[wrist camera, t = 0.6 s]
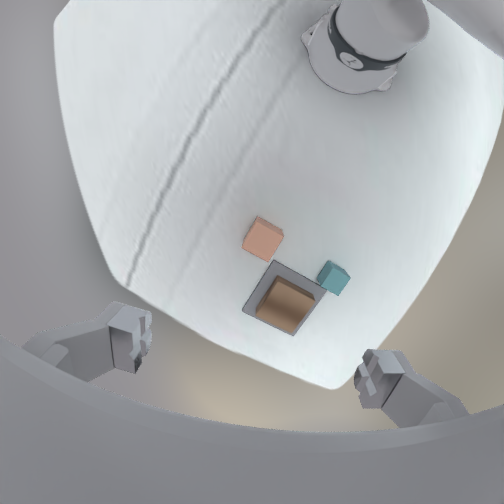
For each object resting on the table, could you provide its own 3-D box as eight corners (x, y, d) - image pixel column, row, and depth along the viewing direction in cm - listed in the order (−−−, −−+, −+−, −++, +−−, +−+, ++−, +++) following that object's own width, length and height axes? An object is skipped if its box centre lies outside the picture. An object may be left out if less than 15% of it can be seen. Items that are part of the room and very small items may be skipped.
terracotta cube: (257, 216, 48) (256, 221, 43) (281, 229, 49) (283, 236, 44) (243, 239, 50) (241, 247, 45) (267, 253, 50) (268, 262, 45)
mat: (273, 259, 50) (273, 260, 50) (326, 289, 52) (327, 290, 51) (242, 309, 54) (241, 311, 53) (293, 334, 55) (293, 336, 54)
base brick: (277, 274, 50) (278, 281, 48) (313, 294, 51) (315, 301, 48) (255, 308, 53) (255, 315, 50) (290, 325, 54) (291, 333, 51)
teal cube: (328, 260, 50) (333, 267, 46) (344, 270, 50) (350, 278, 47) (316, 277, 51) (320, 286, 47) (333, 286, 52) (338, 295, 48)
